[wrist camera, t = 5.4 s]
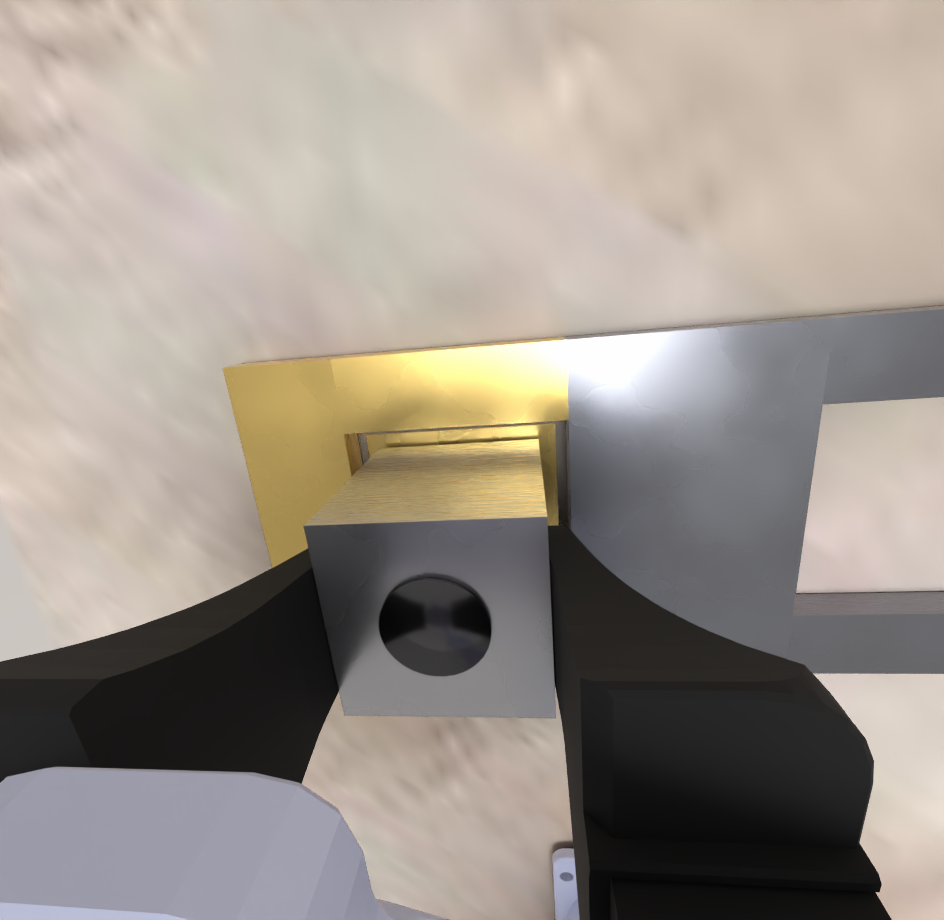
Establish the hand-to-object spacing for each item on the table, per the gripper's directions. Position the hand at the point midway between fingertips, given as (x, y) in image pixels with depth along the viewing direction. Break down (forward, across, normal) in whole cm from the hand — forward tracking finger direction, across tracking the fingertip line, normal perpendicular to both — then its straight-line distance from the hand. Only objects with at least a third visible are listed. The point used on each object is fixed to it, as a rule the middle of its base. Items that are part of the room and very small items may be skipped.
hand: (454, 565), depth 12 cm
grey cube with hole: (+2, 0, 0) cm, 3 cm away
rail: (+3, -6, 0) cm, 7 cm away
